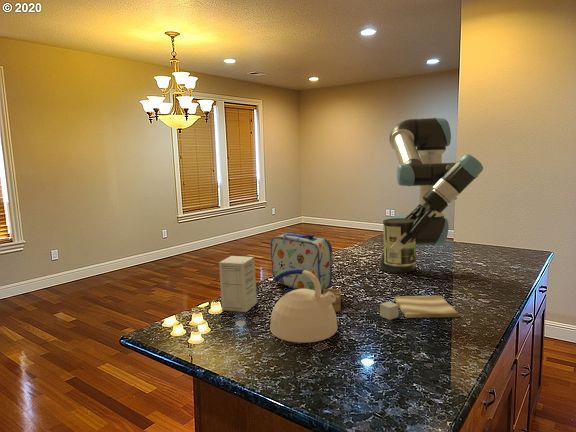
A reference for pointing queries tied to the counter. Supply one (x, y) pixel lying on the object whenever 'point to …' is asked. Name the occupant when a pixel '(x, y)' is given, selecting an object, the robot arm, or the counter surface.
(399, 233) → the coffee can
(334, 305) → the walnut block
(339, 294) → the oak block
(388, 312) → the beige tilted cube
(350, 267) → the counter surface
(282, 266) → the lunch box
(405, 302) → the maple board
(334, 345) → the counter surface
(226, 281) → the supplement box
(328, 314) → the kettle
